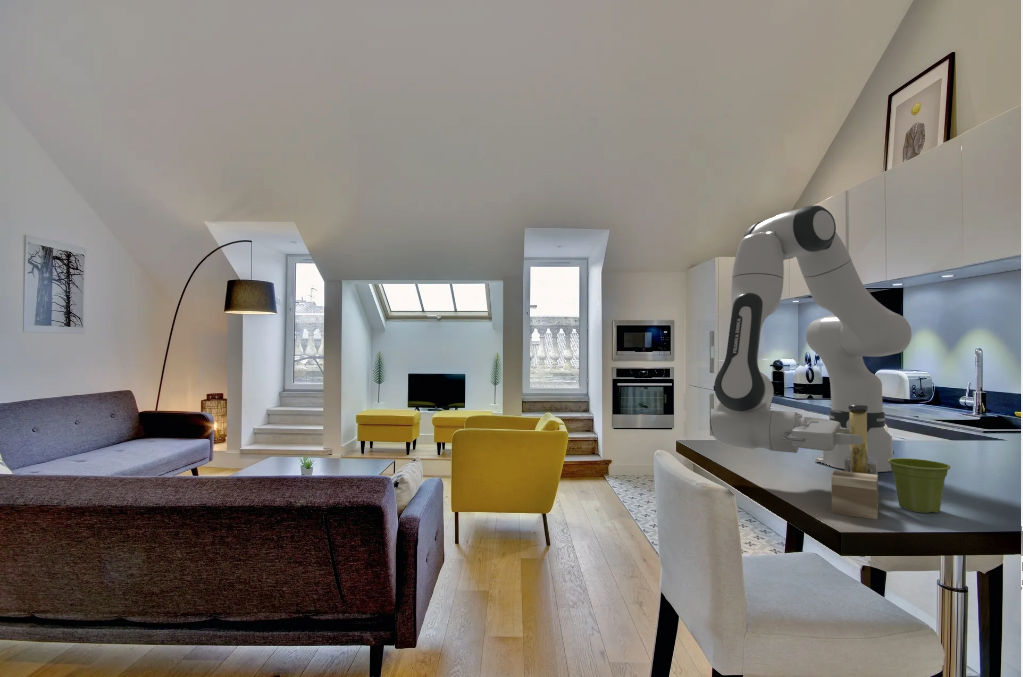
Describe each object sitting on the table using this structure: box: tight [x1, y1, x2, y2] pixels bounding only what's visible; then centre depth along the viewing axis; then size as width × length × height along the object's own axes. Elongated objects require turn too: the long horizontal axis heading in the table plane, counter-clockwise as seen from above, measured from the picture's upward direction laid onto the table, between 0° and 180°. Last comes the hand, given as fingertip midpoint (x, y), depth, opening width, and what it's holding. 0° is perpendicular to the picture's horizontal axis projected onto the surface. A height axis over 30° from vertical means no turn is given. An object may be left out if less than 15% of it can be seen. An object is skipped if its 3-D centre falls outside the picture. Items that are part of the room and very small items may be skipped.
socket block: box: [830, 469, 879, 520], centre depth 100 cm, size 6×7×7 cm
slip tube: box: [848, 405, 871, 474], centre depth 114 cm, size 20×3×17 cm, turn 145°
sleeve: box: [843, 454, 879, 476], centre depth 118 cm, size 10×6×6 cm, turn 145°
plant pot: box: [888, 457, 951, 514], centre depth 102 cm, size 9×9×9 cm
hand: (863, 437), depth 110 cm, fingers open, 5 cm apart
